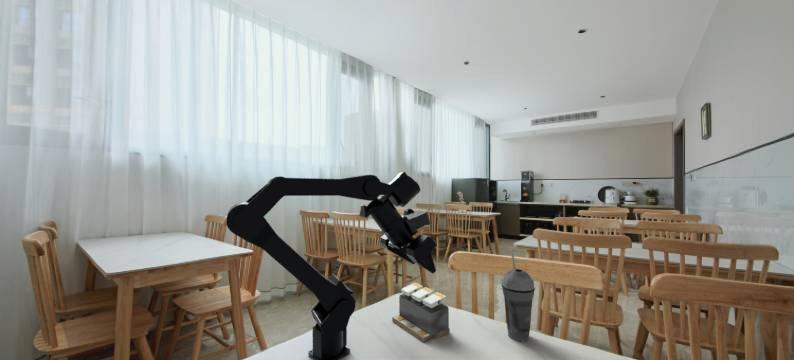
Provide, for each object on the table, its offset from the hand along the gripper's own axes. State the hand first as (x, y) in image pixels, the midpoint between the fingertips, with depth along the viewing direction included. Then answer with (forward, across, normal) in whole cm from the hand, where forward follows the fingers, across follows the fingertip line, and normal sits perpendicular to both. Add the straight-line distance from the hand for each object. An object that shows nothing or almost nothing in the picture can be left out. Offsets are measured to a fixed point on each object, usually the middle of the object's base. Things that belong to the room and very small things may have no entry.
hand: (424, 267), depth 76 cm
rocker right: (+6, -3, +4) cm, 8 cm away
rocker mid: (+6, +1, +4) cm, 7 cm away
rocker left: (+6, +6, +4) cm, 9 cm away
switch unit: (+12, +1, +10) cm, 15 cm away
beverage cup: (+23, -14, -4) cm, 27 cm away
